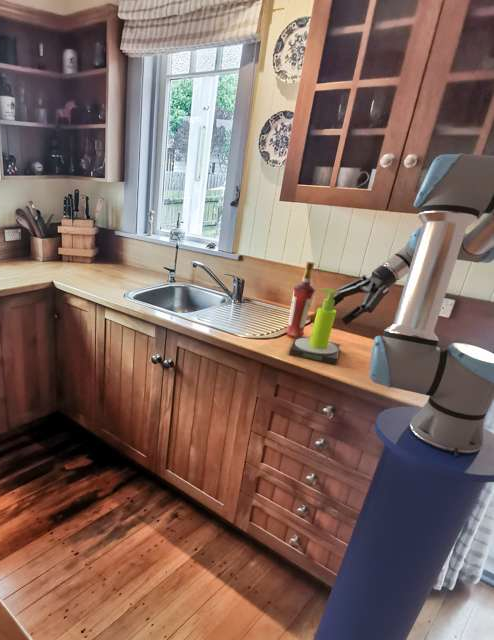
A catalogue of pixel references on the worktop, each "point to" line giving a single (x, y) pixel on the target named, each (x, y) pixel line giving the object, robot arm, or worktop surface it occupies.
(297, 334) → the liquor
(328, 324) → the soap dispenser
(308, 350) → the kitchen scale
